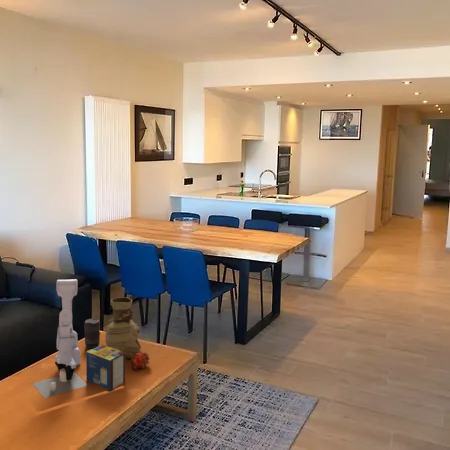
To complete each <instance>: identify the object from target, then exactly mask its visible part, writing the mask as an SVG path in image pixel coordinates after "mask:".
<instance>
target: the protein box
mask: <svg viewBox="0 0 450 450" xmlns="http://www.w3.org/2000/svg"><path fill="white" fill-rule="evenodd" d="M85 357H86V366H85V367H86V381H87V382H89V383H91V384H94V385H96V386H99V387H102V388H104V389H106V391H107V392H112V391H115V389H118V388H119V387H120V385H125V384H126V359H125V352H123V351H120V350H117V349H114V348H111V347H108V346H107V345H106V344H101V345H100V344H99V346H98V347H96V348H94V349H88V350H87V351H86V355H85Z"/></svg>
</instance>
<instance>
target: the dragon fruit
mask: <svg viewBox="0 0 450 450" xmlns="http://www.w3.org/2000/svg"><path fill="white" fill-rule="evenodd" d="M130 364H131V366H132V367H133V369H136V370H137V369H139V368H141V369H144V368H146V365H149V364H150V357H149V354H148V353H147V352H146V351H144V352H143V351H141V350H140V352H139V353H135V355H134V356H133V357H132V359H130Z"/></svg>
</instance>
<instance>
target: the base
mask: <svg viewBox="0 0 450 450" xmlns="http://www.w3.org/2000/svg"><path fill="white" fill-rule="evenodd" d="M31 384H32V385H33V386H34V388H35V389H36V390H37V391H38V392H39V394H40V395H41V396H42V397H43V399H47V398H51V397H53V396H58V395H61V394H64V393H68V392H71V391H74V390H78V389H81V388H84V387H87V386H89V385H88V384H87V383H86V382H85V381H84V380H83V379H82V378H81V377H80V376H79V375H78V374H77V373H76V372H75V371H74V372H73V376H72V379H71V380H70V381H67V382H62V381H60V375H59V376H54V377H51V378H48V379H43V380H40V381H37V382H33V383H31Z"/></svg>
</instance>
